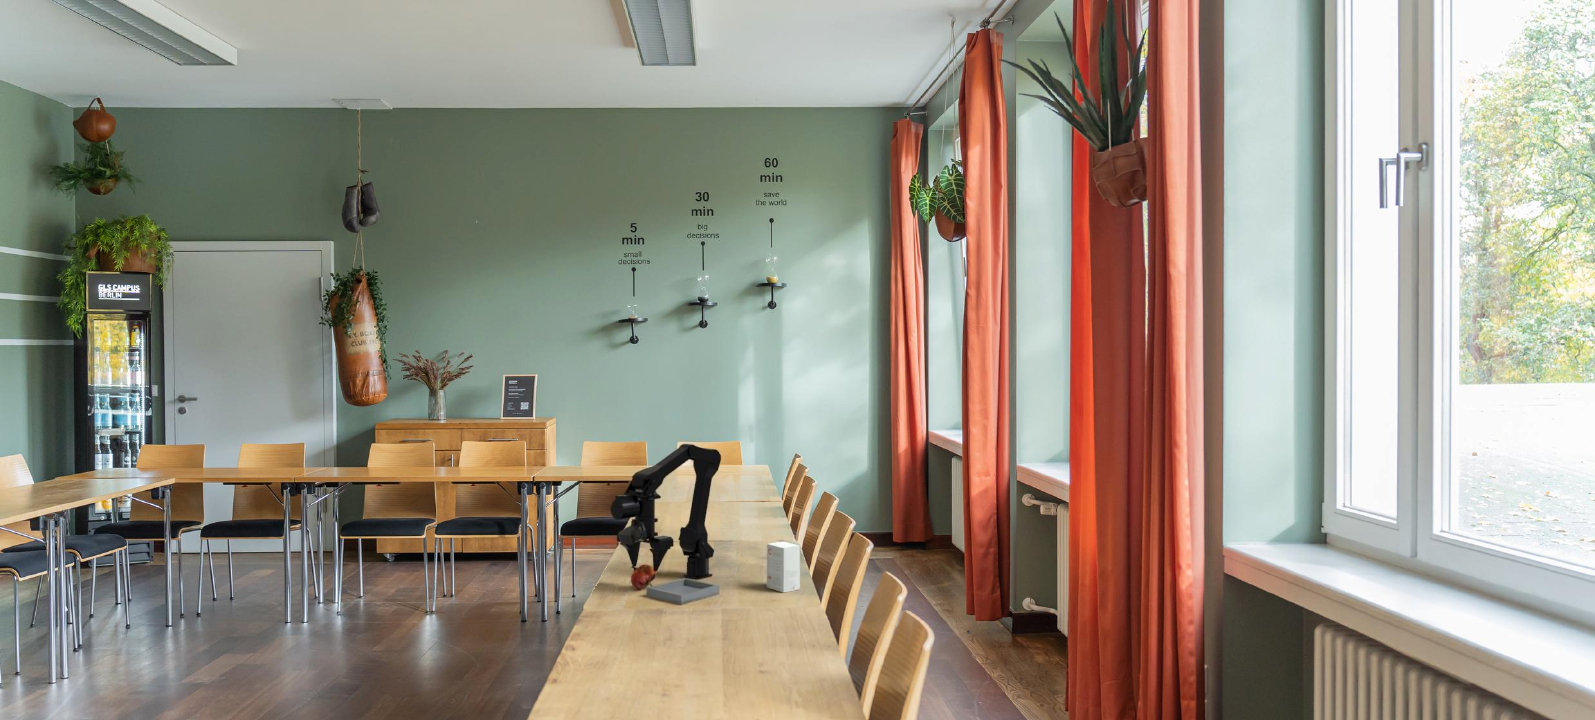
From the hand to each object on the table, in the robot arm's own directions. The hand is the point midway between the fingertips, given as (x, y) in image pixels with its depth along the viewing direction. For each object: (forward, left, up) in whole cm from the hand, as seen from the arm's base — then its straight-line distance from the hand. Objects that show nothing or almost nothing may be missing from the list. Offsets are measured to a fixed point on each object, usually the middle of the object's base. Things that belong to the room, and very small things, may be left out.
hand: (644, 568), depth 274 cm
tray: (-2, +14, -6) cm, 15 cm away
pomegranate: (0, 0, -6) cm, 6 cm away
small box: (-26, +31, -6) cm, 41 cm away
